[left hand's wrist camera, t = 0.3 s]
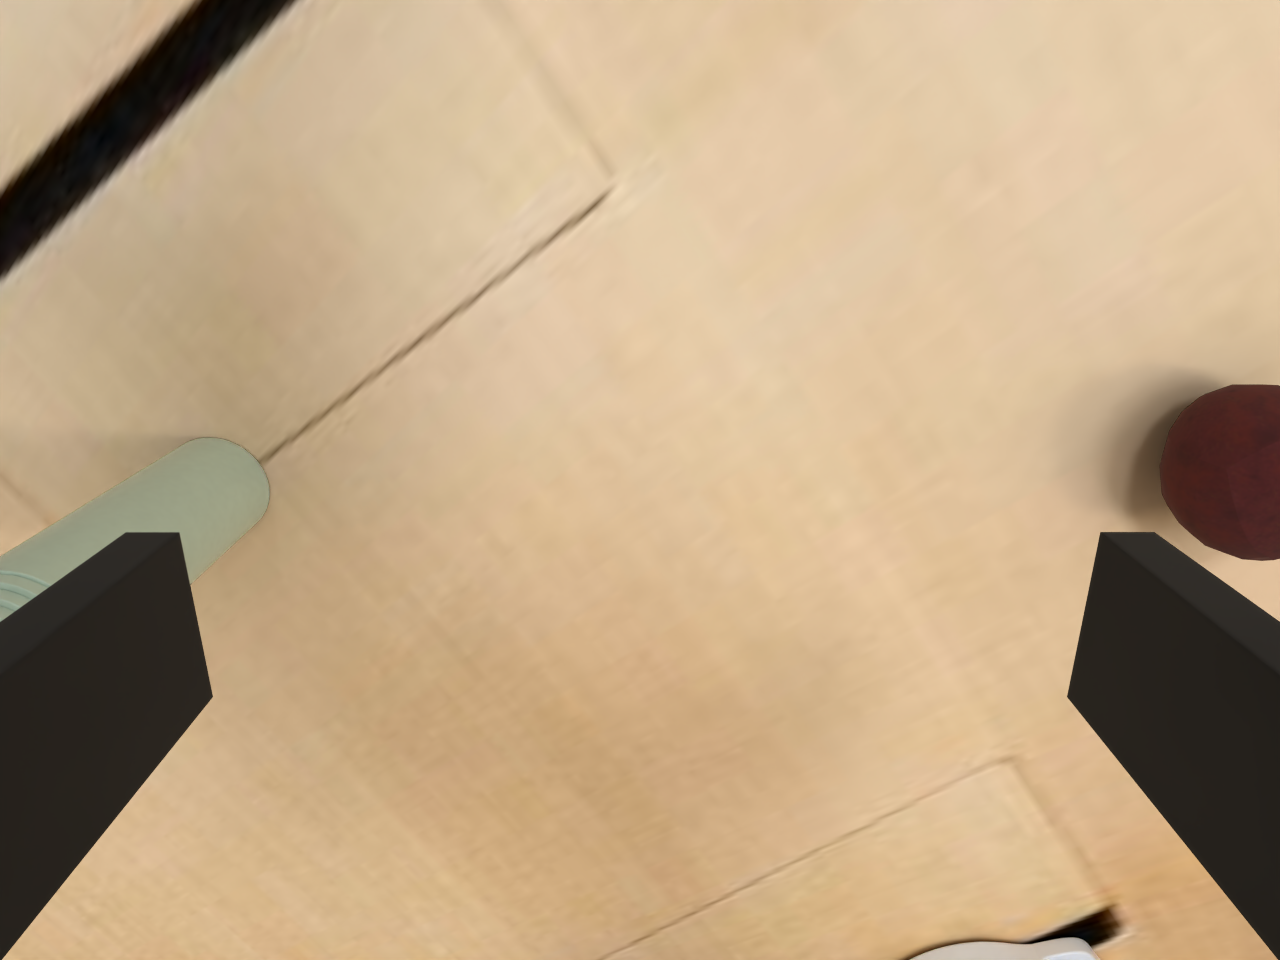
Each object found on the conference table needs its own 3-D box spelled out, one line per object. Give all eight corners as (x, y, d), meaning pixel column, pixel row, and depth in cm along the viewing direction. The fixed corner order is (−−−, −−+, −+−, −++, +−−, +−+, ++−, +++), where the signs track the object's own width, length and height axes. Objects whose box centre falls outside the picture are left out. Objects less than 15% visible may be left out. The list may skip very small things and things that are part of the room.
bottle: (191, 542, 43) (-150, 830, 24) (148, 450, 41) (-253, 683, 23) (285, 521, 42) (11, 796, 24) (246, 426, 41) (-82, 644, 22)
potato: (1163, 545, 43) (1259, 615, 36) (1100, 420, 40) (1191, 471, 34) (1308, 468, 41) (1436, 526, 35) (1252, 334, 39) (1377, 369, 32)
